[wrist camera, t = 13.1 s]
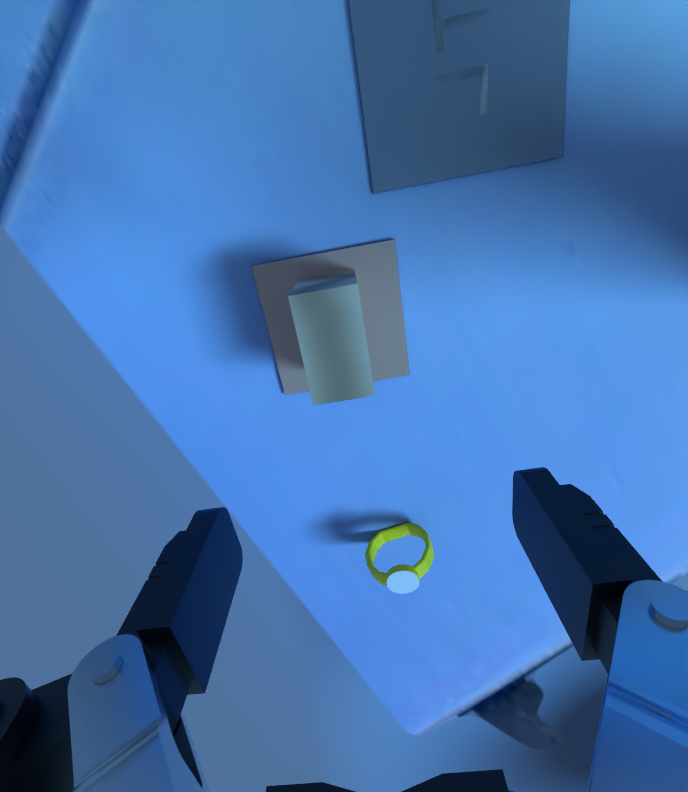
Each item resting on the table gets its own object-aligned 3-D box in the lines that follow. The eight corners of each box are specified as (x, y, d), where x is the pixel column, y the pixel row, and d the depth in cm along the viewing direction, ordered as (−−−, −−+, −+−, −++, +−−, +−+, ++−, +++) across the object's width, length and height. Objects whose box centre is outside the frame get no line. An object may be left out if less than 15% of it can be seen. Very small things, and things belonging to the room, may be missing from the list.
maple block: (354, 269, 28) (357, 283, 22) (369, 363, 31) (375, 395, 25) (298, 279, 28) (287, 296, 23) (318, 371, 31) (313, 405, 25)
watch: (372, 547, 39) (372, 601, 34) (362, 527, 38) (361, 580, 33) (431, 532, 38) (441, 587, 33) (422, 511, 37) (431, 564, 32)
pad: (393, 239, 27) (394, 239, 27) (409, 373, 31) (409, 374, 31) (252, 265, 28) (251, 266, 28) (285, 393, 32) (284, 395, 32)
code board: (573, -113, 20) (575, -116, 20) (560, 157, 25) (562, 156, 25) (341, -57, 21) (341, -59, 21) (373, 193, 26) (373, 193, 26)
